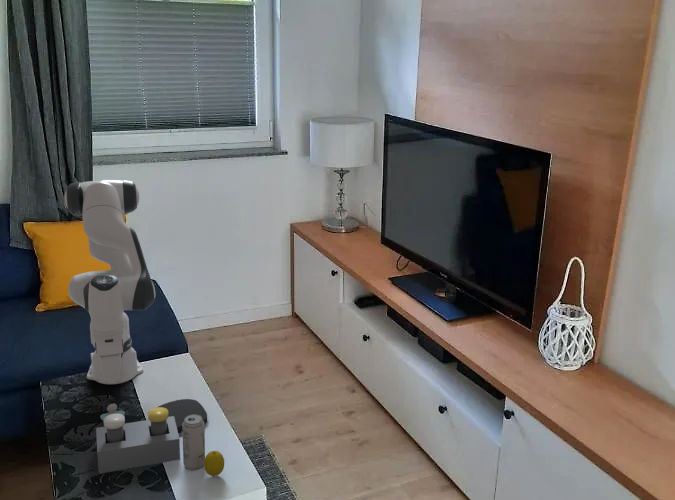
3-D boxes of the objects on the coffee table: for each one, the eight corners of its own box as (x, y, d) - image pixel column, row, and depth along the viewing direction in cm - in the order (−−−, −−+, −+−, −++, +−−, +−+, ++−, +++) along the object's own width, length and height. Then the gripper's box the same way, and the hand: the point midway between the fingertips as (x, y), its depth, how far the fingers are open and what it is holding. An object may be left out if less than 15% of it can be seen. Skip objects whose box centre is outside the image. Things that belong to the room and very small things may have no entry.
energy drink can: (205, 470, 186) (204, 424, 181) (183, 472, 184) (181, 425, 180) (205, 457, 191) (204, 412, 186) (183, 458, 190) (182, 413, 185)
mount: (97, 448, 193) (96, 427, 190) (174, 436, 200) (173, 416, 198) (98, 473, 182) (97, 452, 180) (180, 459, 190) (179, 438, 187)
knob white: (105, 449, 190) (103, 415, 187) (126, 446, 192) (124, 412, 189) (106, 461, 185) (104, 426, 182) (127, 457, 187) (125, 423, 184)
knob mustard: (148, 442, 194) (147, 408, 191) (168, 439, 196) (167, 406, 193) (150, 453, 189) (149, 419, 186) (170, 450, 191) (169, 416, 188)
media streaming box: (211, 425, 207) (211, 416, 206) (165, 437, 200) (165, 429, 199) (194, 402, 219) (194, 394, 218) (150, 414, 211) (150, 405, 211)
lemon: (205, 469, 186) (204, 445, 183) (225, 469, 186) (225, 445, 184) (203, 482, 181) (202, 457, 178) (223, 482, 181) (223, 457, 179)
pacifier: (98, 417, 208) (102, 427, 203) (97, 399, 206) (100, 409, 201) (122, 412, 212) (126, 421, 207) (121, 394, 210) (125, 403, 205)
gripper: (94, 319, 185) (98, 363, 189) (96, 353, 167) (100, 401, 171) (118, 317, 187) (121, 360, 191) (123, 350, 169) (125, 397, 174)
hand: (111, 380), depth 181 cm, fingers closed
